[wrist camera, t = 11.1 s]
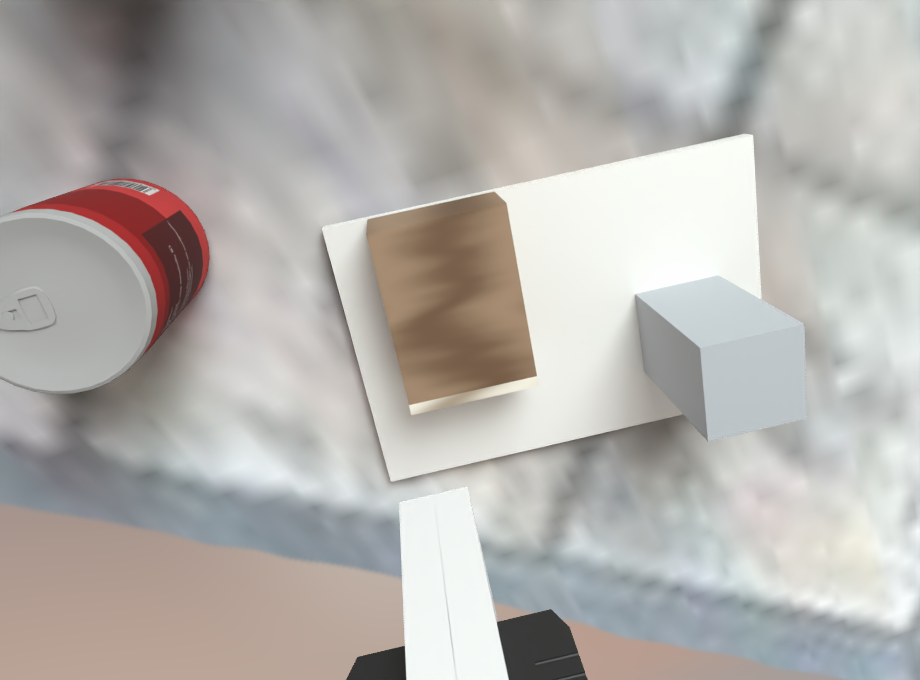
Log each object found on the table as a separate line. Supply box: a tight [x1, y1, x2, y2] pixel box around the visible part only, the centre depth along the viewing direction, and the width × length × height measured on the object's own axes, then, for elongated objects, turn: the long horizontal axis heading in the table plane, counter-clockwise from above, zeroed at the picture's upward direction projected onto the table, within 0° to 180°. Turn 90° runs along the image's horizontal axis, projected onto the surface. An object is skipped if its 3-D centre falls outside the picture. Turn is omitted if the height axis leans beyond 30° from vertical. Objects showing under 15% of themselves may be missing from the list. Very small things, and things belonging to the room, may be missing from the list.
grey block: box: [635, 275, 807, 441], centre depth 38 cm, size 5×5×9 cm
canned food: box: [0, 179, 209, 394], centre depth 33 cm, size 8×8×11 cm
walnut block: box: [366, 192, 539, 415], centre depth 38 cm, size 7×4×10 cm
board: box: [322, 134, 761, 482], centre depth 42 cm, size 24×16×1 cm, turn 101°
